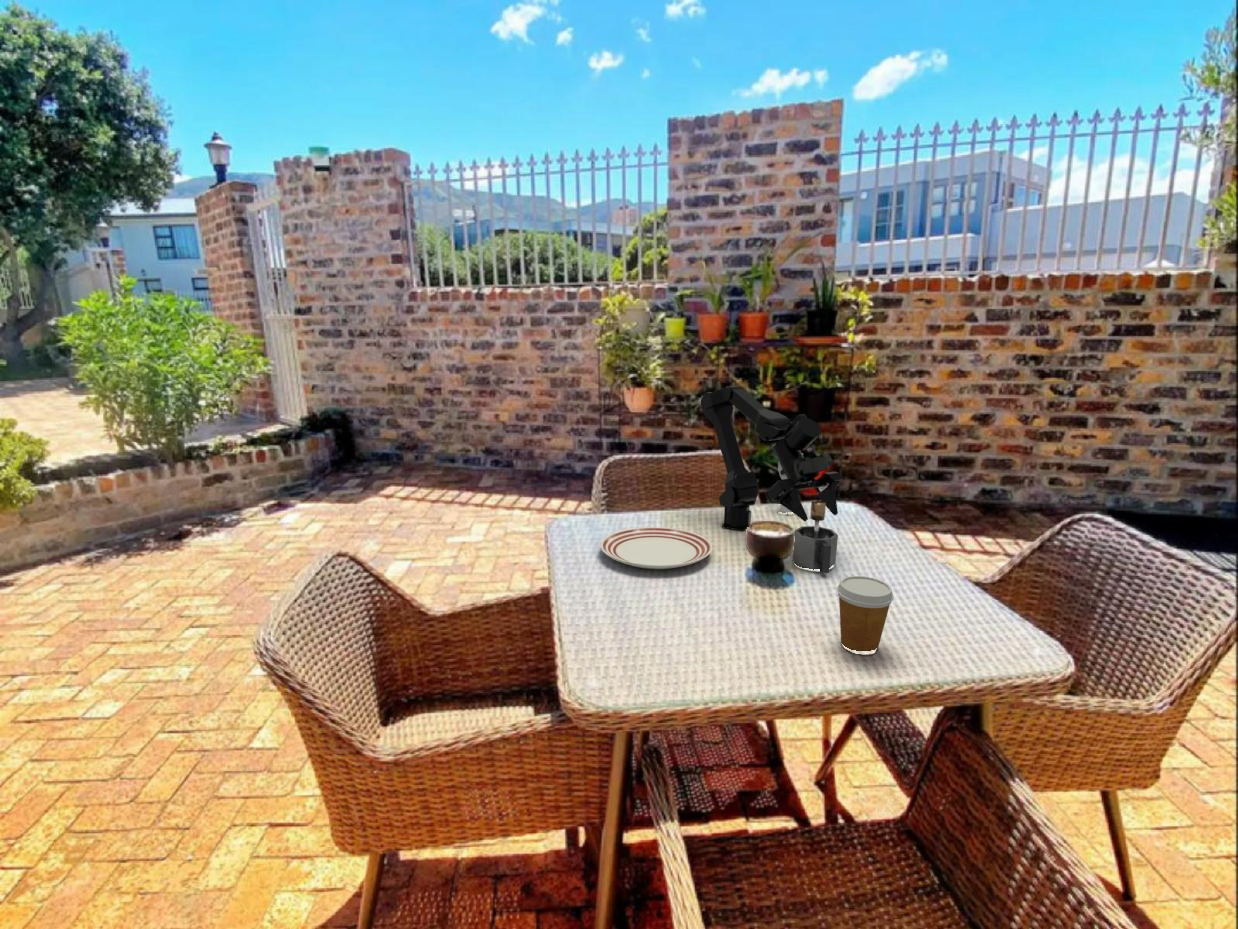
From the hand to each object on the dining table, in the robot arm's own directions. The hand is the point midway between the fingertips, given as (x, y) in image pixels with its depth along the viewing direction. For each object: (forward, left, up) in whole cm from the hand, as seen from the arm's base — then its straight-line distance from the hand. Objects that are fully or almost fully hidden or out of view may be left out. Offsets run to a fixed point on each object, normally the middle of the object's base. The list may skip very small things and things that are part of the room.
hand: (821, 517), depth 150 cm
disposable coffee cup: (+13, -34, -12) cm, 39 cm away
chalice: (-15, +37, -12) cm, 42 cm away
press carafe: (0, 0, -12) cm, 12 cm away
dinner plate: (-37, -10, -13) cm, 40 cm away
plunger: (-1, +1, -7) cm, 8 cm away
